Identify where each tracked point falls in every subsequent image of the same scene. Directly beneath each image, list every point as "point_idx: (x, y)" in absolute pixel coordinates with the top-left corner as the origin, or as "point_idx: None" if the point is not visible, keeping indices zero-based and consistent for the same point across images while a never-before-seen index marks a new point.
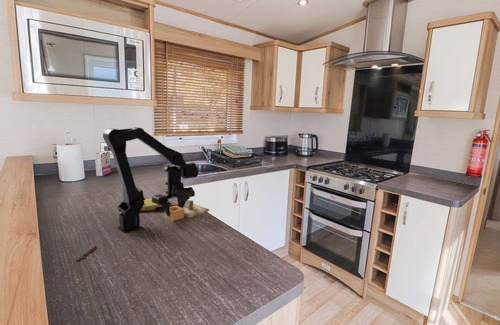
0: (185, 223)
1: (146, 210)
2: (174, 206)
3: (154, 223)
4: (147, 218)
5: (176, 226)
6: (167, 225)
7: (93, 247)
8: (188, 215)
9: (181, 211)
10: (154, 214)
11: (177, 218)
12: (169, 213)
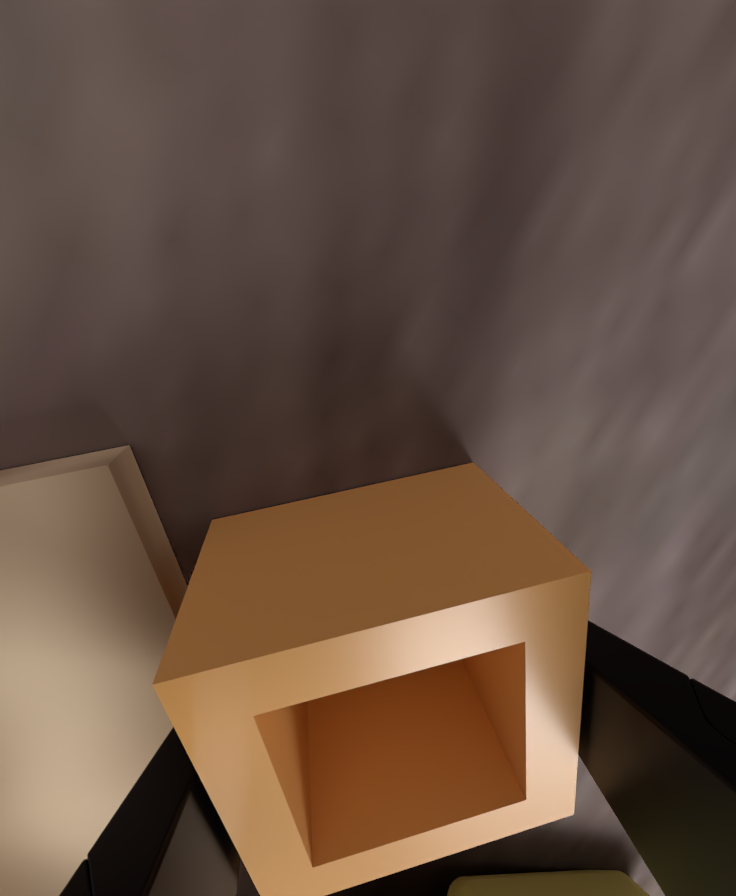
0: (339, 195)
1: (528, 873)
2: (327, 878)
3: (700, 522)
4: None
5: (571, 173)
6: (643, 340)
7: None
8: (114, 488)
9: (278, 605)
10: None
11: (381, 493)
12: None
